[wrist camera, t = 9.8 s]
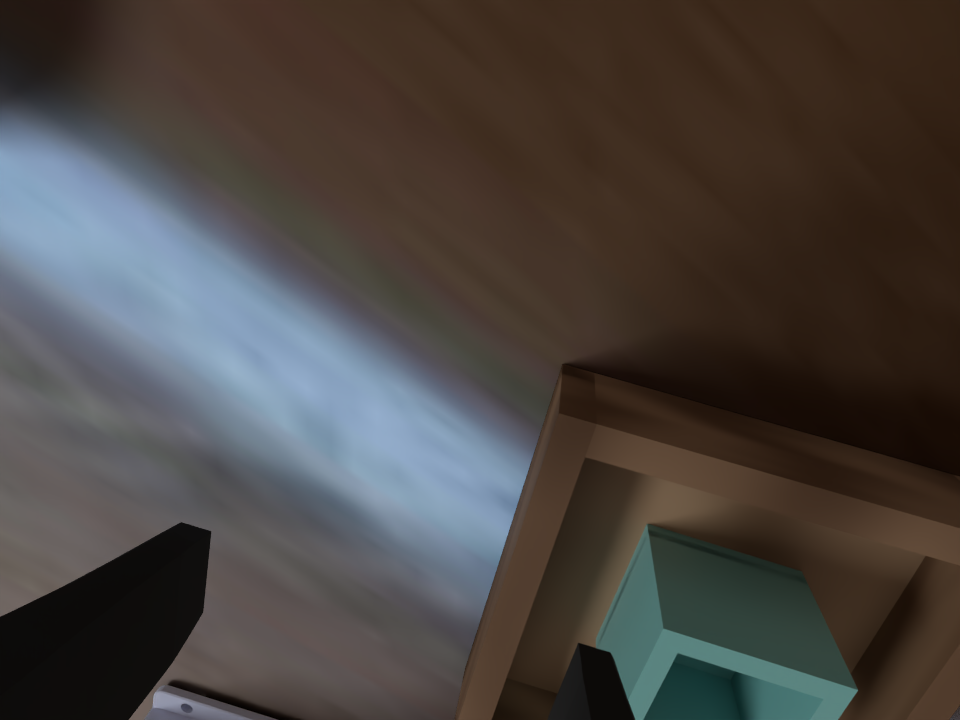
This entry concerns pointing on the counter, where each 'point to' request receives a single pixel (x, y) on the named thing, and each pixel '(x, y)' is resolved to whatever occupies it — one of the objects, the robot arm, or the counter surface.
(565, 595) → the big crate
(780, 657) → the small crate
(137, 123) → the counter surface
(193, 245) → the counter surface
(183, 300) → the counter surface
